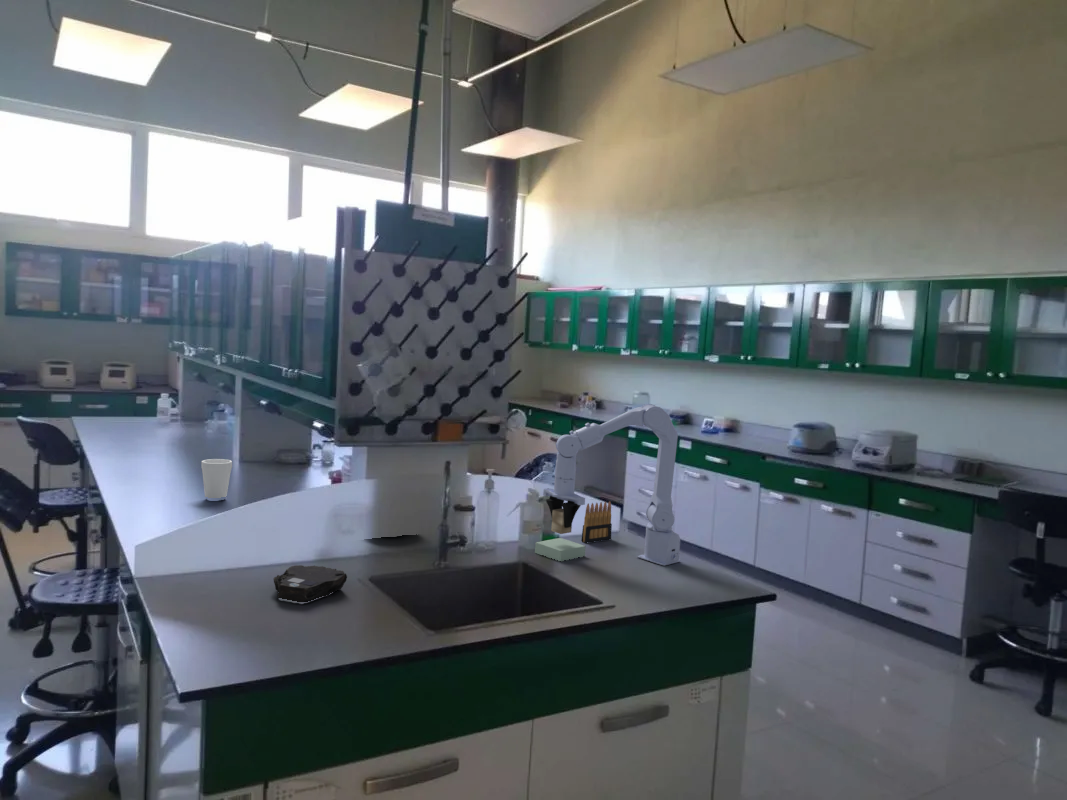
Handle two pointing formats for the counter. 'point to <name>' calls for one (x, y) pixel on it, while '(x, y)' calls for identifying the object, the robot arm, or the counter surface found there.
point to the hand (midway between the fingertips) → (561, 525)
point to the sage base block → (560, 549)
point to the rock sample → (308, 582)
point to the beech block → (559, 522)
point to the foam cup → (216, 477)
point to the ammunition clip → (597, 523)
